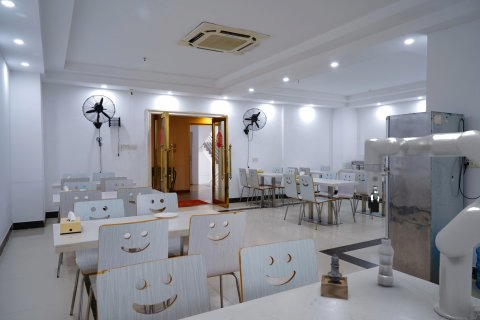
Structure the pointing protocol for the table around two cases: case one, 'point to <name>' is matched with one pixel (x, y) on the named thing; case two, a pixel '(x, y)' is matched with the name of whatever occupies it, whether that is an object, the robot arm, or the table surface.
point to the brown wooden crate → (334, 288)
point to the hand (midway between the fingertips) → (373, 210)
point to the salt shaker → (334, 271)
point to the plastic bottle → (385, 263)
